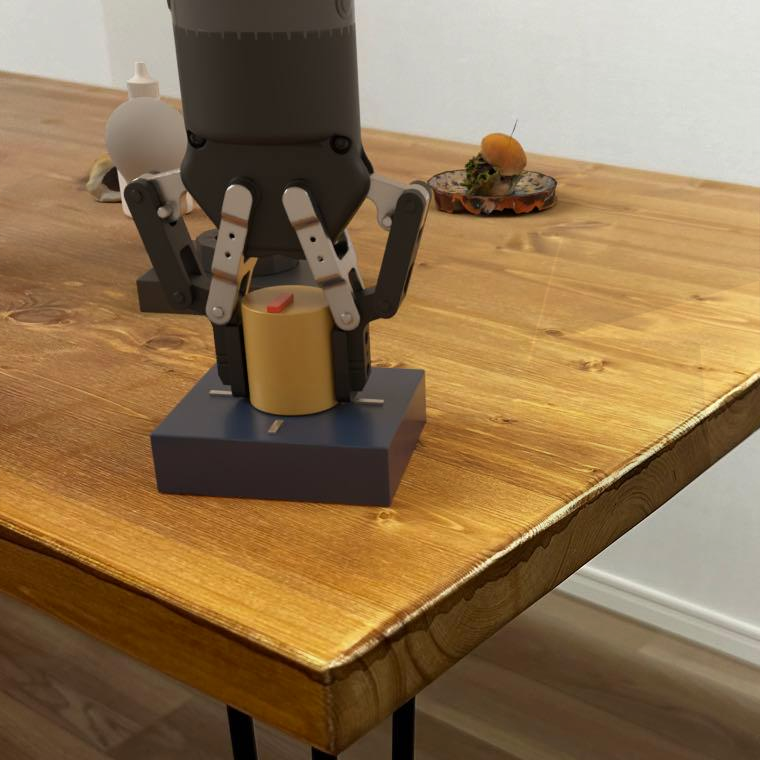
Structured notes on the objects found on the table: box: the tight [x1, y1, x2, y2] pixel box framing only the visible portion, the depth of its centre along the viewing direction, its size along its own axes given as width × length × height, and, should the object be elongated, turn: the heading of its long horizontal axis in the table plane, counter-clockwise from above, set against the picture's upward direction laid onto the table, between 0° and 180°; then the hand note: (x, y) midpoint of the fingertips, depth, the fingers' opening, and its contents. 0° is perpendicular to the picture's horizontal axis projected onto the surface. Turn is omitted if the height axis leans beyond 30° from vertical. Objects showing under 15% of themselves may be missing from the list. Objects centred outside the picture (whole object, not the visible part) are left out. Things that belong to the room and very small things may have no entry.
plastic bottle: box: [117, 61, 194, 219], centre depth 97 cm, size 4×6×12 cm
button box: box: [135, 227, 322, 316], centre depth 81 cm, size 12×10×4 cm
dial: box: [241, 285, 339, 415], centre depth 57 cm, size 4×4×5 cm
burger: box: [426, 118, 559, 215], centre depth 106 cm, size 12×12×8 cm
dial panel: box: [149, 361, 427, 508], centre depth 59 cm, size 11×10×3 cm
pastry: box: [85, 153, 122, 203], centre depth 107 cm, size 9×7×4 cm
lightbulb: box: [104, 97, 187, 184], centre depth 89 cm, size 6×6×11 cm
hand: (296, 392), depth 58 cm, fingers closed on dial, 4 cm apart
